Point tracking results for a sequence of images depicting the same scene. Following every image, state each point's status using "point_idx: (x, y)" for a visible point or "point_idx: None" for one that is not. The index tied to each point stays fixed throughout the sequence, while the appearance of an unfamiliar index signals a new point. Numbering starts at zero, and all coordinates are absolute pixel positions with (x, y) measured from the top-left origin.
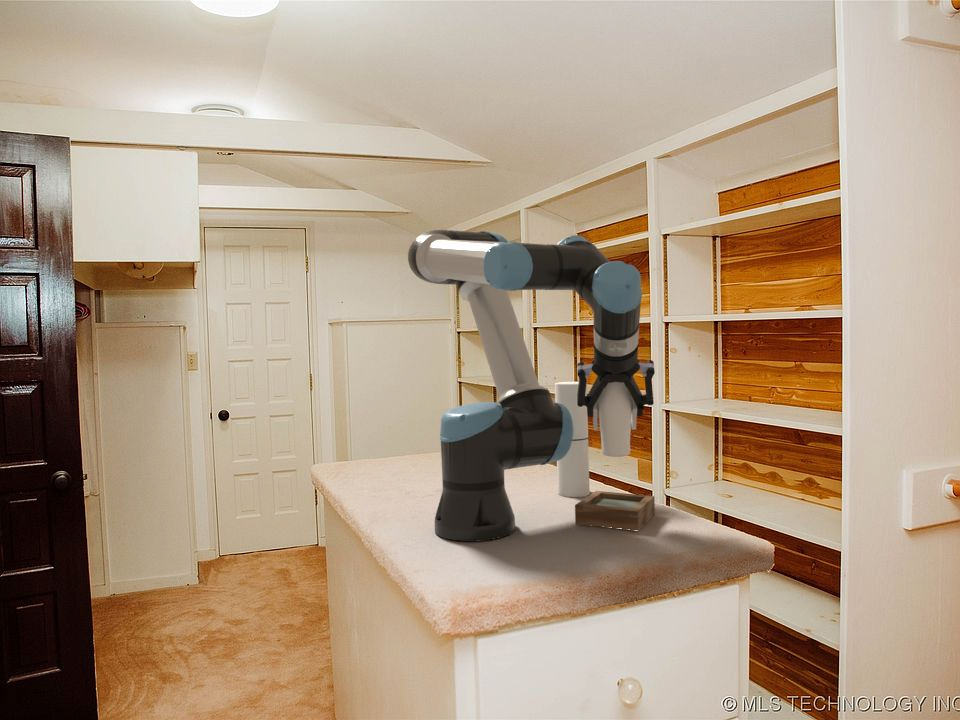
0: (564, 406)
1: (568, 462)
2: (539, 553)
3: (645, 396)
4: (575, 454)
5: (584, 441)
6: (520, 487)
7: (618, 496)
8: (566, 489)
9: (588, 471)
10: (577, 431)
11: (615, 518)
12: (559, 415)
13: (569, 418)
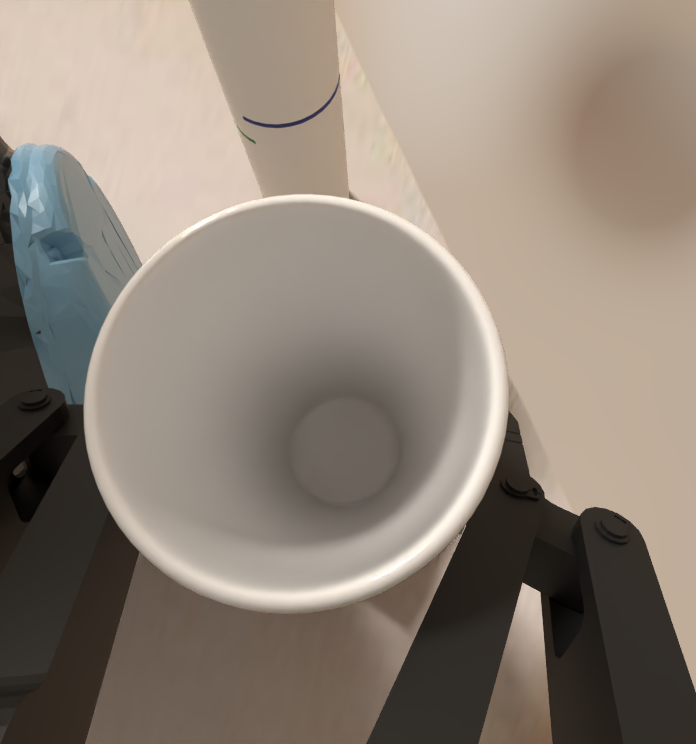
0: (56, 264)
1: (270, 177)
2: (97, 713)
3: (557, 566)
4: (287, 164)
5: (316, 120)
6: (192, 134)
7: None
8: None
9: (341, 179)
10: (281, 97)
11: None
12: (21, 371)
13: None
